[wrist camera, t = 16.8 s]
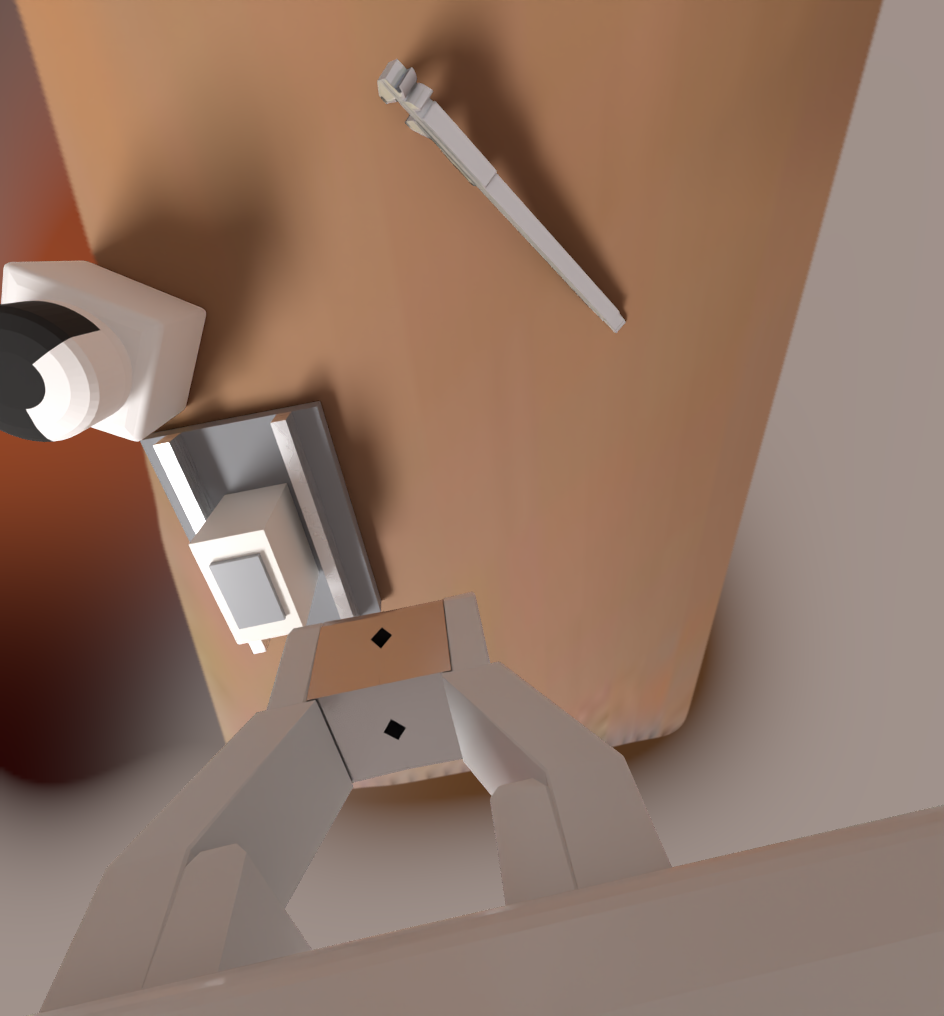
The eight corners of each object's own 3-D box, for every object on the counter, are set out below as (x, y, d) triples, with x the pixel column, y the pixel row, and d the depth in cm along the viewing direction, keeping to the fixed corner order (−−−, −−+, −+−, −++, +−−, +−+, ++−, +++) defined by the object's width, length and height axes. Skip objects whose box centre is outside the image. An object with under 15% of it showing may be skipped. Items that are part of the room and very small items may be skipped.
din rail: (165, 435, 34) (153, 445, 32) (291, 411, 34) (285, 419, 33) (260, 637, 42) (253, 654, 40) (360, 616, 43) (358, 632, 41)
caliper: (378, 99, 29) (373, 62, 23) (389, 81, 29) (386, 39, 23) (613, 332, 37) (652, 347, 31) (624, 320, 36) (664, 332, 31)
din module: (224, 494, 36) (185, 547, 30) (286, 482, 37) (261, 532, 30) (263, 584, 40) (236, 648, 33) (319, 572, 40) (303, 634, 34)
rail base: (149, 433, 35) (139, 440, 34) (319, 400, 36) (316, 406, 34) (244, 629, 44) (239, 641, 42) (381, 601, 44) (380, 612, 43)
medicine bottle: (69, 370, 33) (-89, 425, 22) (83, 258, 30) (-88, 260, 20) (186, 410, 35) (93, 479, 24) (209, 309, 32) (115, 336, 22)
